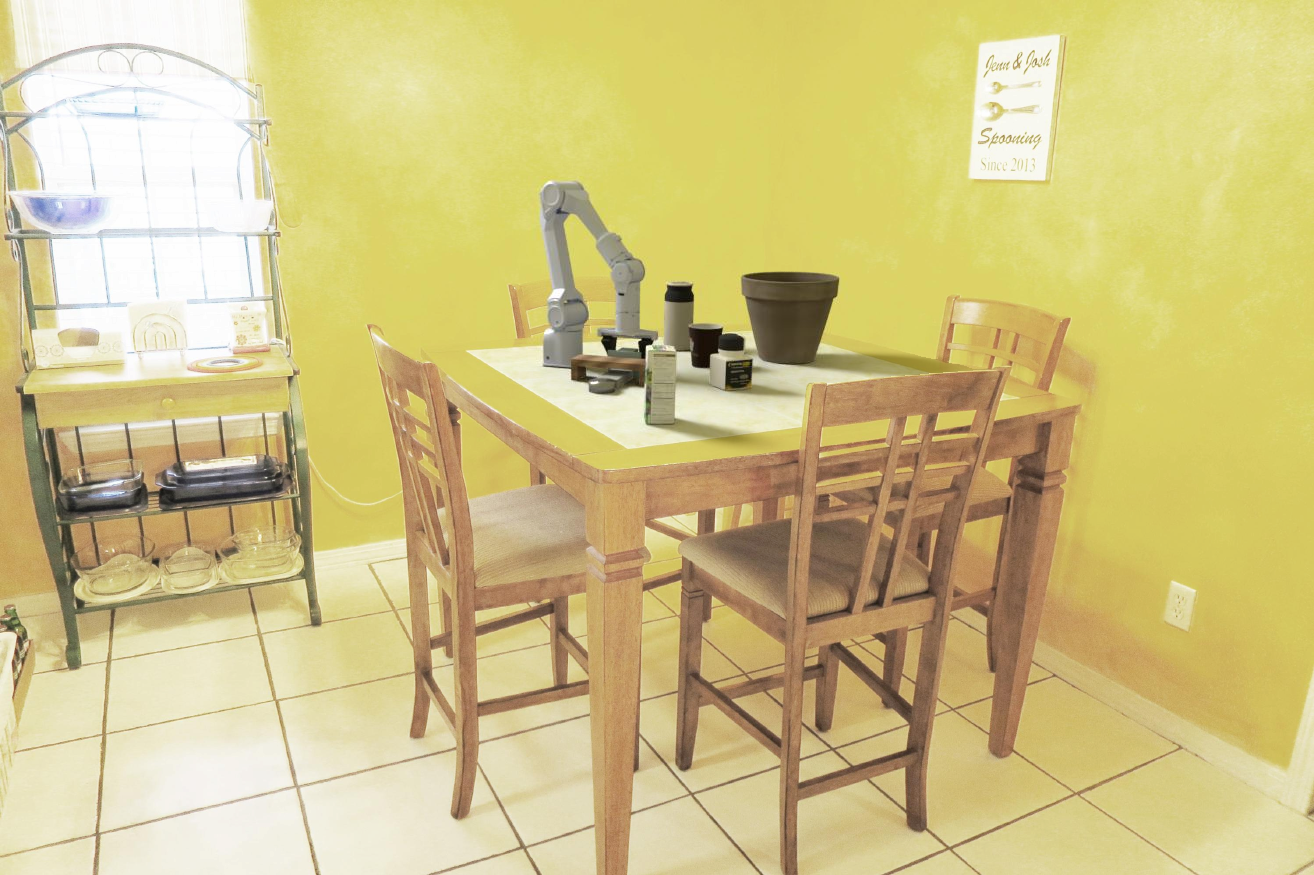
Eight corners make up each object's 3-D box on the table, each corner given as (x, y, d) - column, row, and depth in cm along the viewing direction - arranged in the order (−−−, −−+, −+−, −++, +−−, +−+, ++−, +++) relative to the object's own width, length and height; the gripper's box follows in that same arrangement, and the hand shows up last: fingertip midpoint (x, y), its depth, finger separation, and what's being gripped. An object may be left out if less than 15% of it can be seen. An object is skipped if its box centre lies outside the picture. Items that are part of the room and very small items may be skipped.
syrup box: (643, 416, 181) (644, 344, 177) (672, 416, 181) (674, 344, 177) (645, 424, 175) (646, 350, 171) (675, 424, 176) (677, 350, 172)
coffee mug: (719, 370, 225) (720, 329, 222) (684, 368, 226) (685, 328, 223) (725, 361, 236) (726, 322, 233) (692, 359, 237) (693, 320, 234)
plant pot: (725, 362, 234) (728, 277, 227) (752, 346, 256) (756, 268, 249) (822, 372, 225) (828, 283, 219) (841, 354, 247) (847, 273, 240)
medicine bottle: (725, 391, 203) (727, 338, 200) (708, 384, 209) (710, 332, 206) (751, 388, 206) (754, 335, 203) (735, 381, 212) (737, 330, 209)
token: (584, 393, 200) (584, 382, 199) (595, 387, 205) (595, 377, 205) (609, 395, 198) (609, 385, 197) (620, 390, 203) (620, 379, 203)
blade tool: (589, 386, 205) (589, 360, 204) (614, 371, 221) (614, 346, 219) (623, 389, 203) (623, 362, 202) (645, 373, 219) (646, 349, 217)
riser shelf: (571, 380, 211) (570, 359, 209) (580, 375, 216) (580, 354, 215) (645, 386, 206) (645, 364, 205) (653, 381, 212) (653, 359, 210)
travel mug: (697, 348, 252) (699, 282, 247) (682, 352, 245) (684, 285, 240) (673, 344, 256) (674, 280, 251) (658, 349, 250) (659, 282, 244)
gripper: (662, 310, 216) (661, 367, 220) (604, 307, 220) (604, 362, 223) (653, 315, 209) (652, 373, 213) (594, 311, 213) (594, 368, 217)
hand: (627, 368), depth 218 cm, fingers closed on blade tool, 7 cm apart
